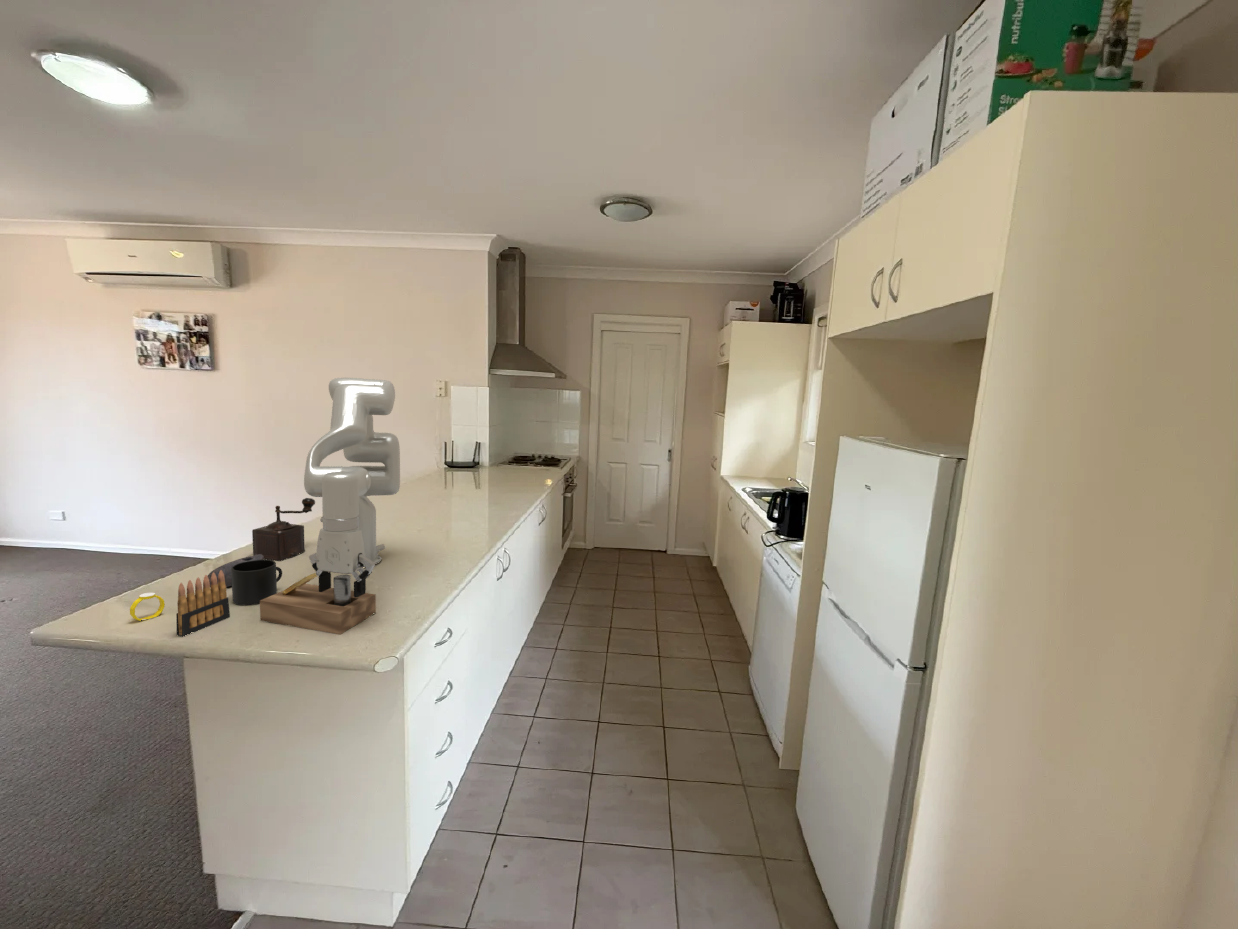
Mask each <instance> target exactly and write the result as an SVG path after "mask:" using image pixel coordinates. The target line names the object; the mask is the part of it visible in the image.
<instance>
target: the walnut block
mask: <svg viewBox="0 0 1238 929" xmlns="http://www.w3.org/2000/svg"><path fill="white" fill-rule="evenodd" d="M282 591H283V590H282ZM282 591H280V592H279V591H278V592H277V594H274V595H272V596H269V597H267V598H265V599H262V600H260V603H259V616H260V621H262V622H267V623H273V624H279V625H284V626H290V627H296V628H302V629H307V630H313V631H319V632H325V633H330V634H336V635H342V634H343V633H346V631H349V630H351V629H352V628H354V627H355V626H356V625H359V624H360V623H362V622H364V621H365V620H366V619H368V617H369V616H370V617H372V616H373V615H372V614H373V613H375V614H376V612H377V611H376V610H377V607H376V606H377V605H376V603H377V602H376V601H377V600H376V599H377V596H376V593H369V592H365V594H363V595H361V596H359V597H357V598H356V597H354V590H351V603H349V604H348V605H346V606H337V605H334V587H331V588H329V589H327V590H325V591H323V592H319V585H317V584H309V583H306V584H304V585H303V586H301V587H299V588H298V589H296V590H294V591H292V592H290V593H287V594H285V595H283V594H282ZM371 615H372V616H371ZM370 617H369V618H370ZM364 619H365V620H364ZM363 620H364V621H363Z"/></svg>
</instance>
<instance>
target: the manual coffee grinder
mask: <svg viewBox="0 0 1238 929" xmlns="http://www.w3.org/2000/svg"><path fill="white" fill-rule="evenodd" d="M301 504H302V505H303V508H302V510H281V506H280V505H275V513H276V520H275V521H273V522H271V523H269V524H267V526H262V527H258V528H255V529H252V531H251V532H252V536H251V538H252V556H254V555H258V554H262V555H263V556H264V560H266V559H267V560H272V561H274V560H275V562H282V561H285V560H287V559H286V558H288V559H291V558H293V556H294V557H296V556H298V555H300V554H299V553H301V552H303V553H304V552H306V549H305V548H306V545H305V526H304V525H303V524H294V523H290V522H289V521H284V520H281V514H303V513H305V514H307V513H310V512H313V510H312V508H313V506H314V505H316V501H315V499H314V498H310V497H305V498H303V499H302V500H301ZM297 554H298V555H297ZM301 554H302V553H301ZM284 559H285V560H284ZM281 560H282V561H281Z"/></svg>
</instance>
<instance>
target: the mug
mask: <svg viewBox="0 0 1238 929" xmlns="http://www.w3.org/2000/svg"><path fill="white" fill-rule="evenodd" d="M276 562H277V561H274V560H266V559H264V560H251V561H246V562H242V563H239V564H236V565H234V566H233V567H232V568H231V576H232V586H231V593H232V595H231V596H232V602H233V604H235V605H240V606H253V605H258V604H259V605H260V600H262V599H265V598H267V597H269V596H272V595H274V594H277V593H278V586H277V585H278V582H279V581H280V580H281V579H282V576H283V570H282V569H281V567H279V566H277V563H276ZM277 571H278V575H277Z"/></svg>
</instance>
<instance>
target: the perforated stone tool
mask: <svg viewBox="0 0 1238 929" xmlns="http://www.w3.org/2000/svg"><path fill="white" fill-rule="evenodd" d="M251 560H265V559H264V556H263V555H262V554H258V555H254V556H253V555H249V556H246V557H241V558H238V559H235V560H233V561H230V562H228V563H224V564H222V565H220V566H218V567H217V568H214V569H212V571H210V572H209V573H208V575H207V576H208V578H209V582H210V589H211V576H212V573H213V572H214V573H215V574H216V577H217V584H218V576H219V572H220V570H222V571H223V574H224V578H225V585H226V588H228V587H232V576H231V568H232V567H233V566H234V565H236V564H239V563H242V562H246V561H251Z"/></svg>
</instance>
